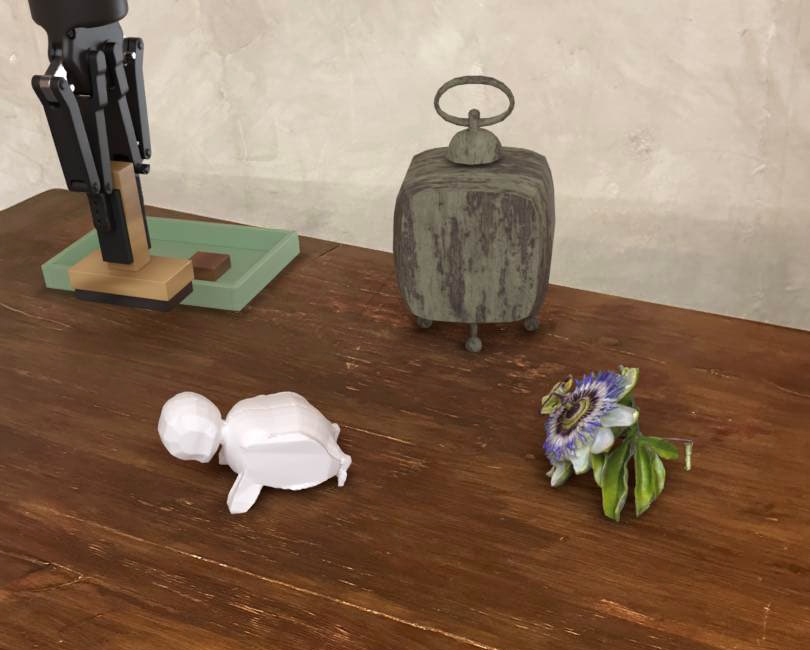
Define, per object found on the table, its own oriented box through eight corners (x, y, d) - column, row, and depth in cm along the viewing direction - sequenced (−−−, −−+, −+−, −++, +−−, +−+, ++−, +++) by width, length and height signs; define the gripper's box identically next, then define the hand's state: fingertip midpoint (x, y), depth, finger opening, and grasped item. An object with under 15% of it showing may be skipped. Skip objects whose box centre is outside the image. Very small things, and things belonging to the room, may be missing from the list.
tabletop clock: (551, 324, 113) (561, 62, 98) (547, 367, 106) (557, 92, 91) (408, 320, 115) (397, 63, 100) (395, 363, 108) (380, 93, 93)
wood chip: (182, 278, 124) (180, 265, 123) (199, 263, 127) (197, 250, 126) (215, 281, 122) (213, 268, 122) (231, 267, 125) (229, 254, 125)
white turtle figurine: (316, 474, 98) (143, 446, 93) (344, 390, 94) (165, 355, 88) (334, 530, 92) (149, 504, 86) (365, 442, 87) (173, 408, 82)
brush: (73, 300, 103) (43, 170, 96) (102, 278, 107) (76, 151, 99) (170, 314, 100) (147, 181, 93) (196, 290, 104) (176, 160, 96)
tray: (47, 293, 124) (40, 265, 122) (121, 239, 135) (116, 212, 133) (240, 317, 117) (236, 288, 115) (300, 258, 129) (297, 230, 127)
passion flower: (555, 531, 94) (519, 392, 94) (682, 498, 94) (646, 358, 93) (571, 538, 83) (530, 380, 83) (715, 500, 83) (675, 341, 82)
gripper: (56, -11, 80) (119, 295, 94) (163, -53, 91) (204, 226, 106) (-32, -15, 82) (42, 285, 96) (83, -56, 93) (134, 218, 108)
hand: (127, 254), depth 101 cm, fingers closed on brush, 2 cm apart
